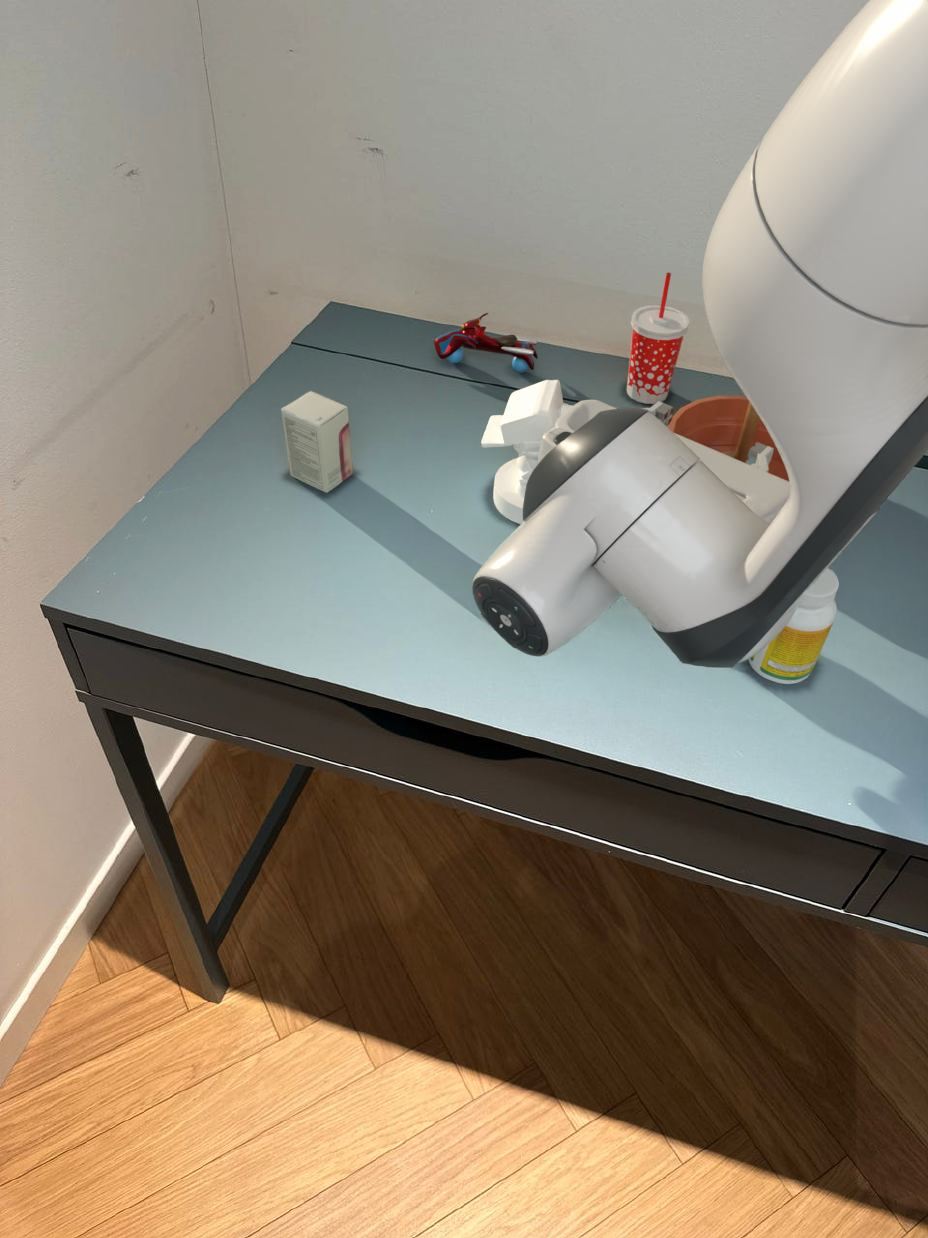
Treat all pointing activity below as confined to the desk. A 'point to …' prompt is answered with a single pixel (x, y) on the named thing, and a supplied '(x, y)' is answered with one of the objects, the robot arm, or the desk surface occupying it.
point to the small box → (318, 441)
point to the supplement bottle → (801, 635)
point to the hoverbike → (485, 345)
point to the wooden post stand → (746, 435)
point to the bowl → (722, 427)
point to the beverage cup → (655, 349)
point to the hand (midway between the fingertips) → (714, 430)
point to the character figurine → (522, 440)
